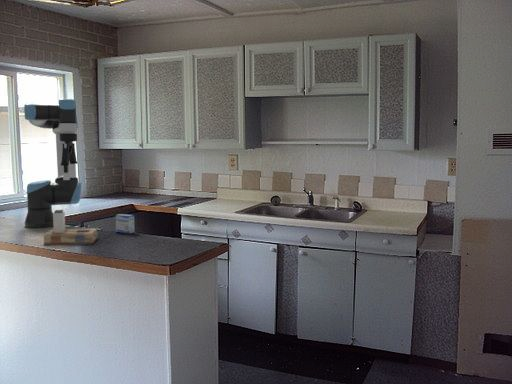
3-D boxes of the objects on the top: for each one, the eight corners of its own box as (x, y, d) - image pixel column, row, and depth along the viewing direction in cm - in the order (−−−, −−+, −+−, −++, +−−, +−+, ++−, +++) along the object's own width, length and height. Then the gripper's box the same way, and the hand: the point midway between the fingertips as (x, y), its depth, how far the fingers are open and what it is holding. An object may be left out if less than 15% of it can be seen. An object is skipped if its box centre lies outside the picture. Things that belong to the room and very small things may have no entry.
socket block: (52, 238, 240) (51, 228, 239) (97, 237, 242) (97, 227, 242) (43, 245, 226) (43, 234, 225) (91, 244, 228) (91, 233, 228)
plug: (56, 238, 235) (55, 209, 234) (65, 238, 236) (64, 209, 234) (54, 240, 231) (52, 211, 230) (63, 240, 232) (62, 210, 231)
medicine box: (115, 232, 256) (115, 215, 255) (120, 231, 260) (120, 213, 259) (129, 233, 253) (129, 215, 252) (134, 232, 257) (134, 214, 257)
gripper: (65, 133, 255) (67, 176, 258) (53, 132, 231) (54, 181, 233) (81, 133, 256) (83, 176, 259) (70, 132, 232) (72, 180, 234)
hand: (69, 178), depth 246 cm, fingers open, 13 cm apart
